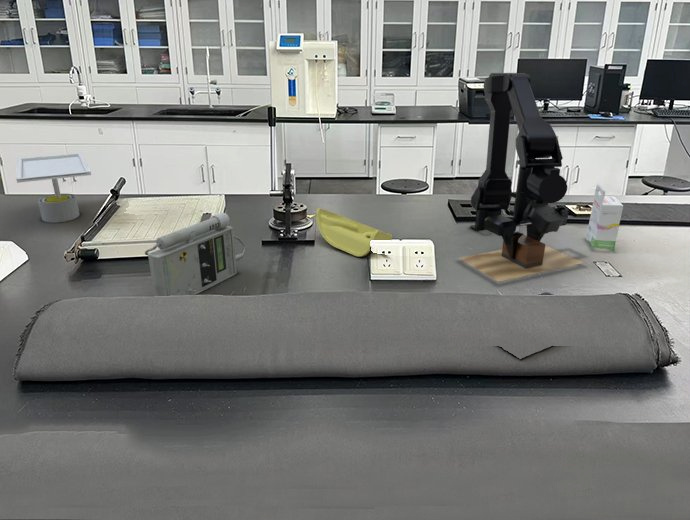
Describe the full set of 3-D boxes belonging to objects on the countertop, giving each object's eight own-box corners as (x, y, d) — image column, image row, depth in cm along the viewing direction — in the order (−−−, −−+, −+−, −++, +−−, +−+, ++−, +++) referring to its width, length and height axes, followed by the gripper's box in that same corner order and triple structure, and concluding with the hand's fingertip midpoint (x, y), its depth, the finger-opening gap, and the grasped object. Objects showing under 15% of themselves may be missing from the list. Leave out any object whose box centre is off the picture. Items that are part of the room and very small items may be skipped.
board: (457, 261, 122) (458, 257, 121) (538, 246, 131) (539, 242, 131) (497, 285, 110) (498, 281, 110) (583, 266, 119) (584, 262, 119)
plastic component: (396, 236, 130) (374, 229, 122) (386, 264, 131) (363, 259, 123) (337, 214, 142) (313, 206, 134) (327, 240, 142) (304, 233, 134)
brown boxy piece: (501, 256, 122) (503, 235, 121) (517, 252, 124) (520, 232, 122) (525, 268, 116) (528, 247, 114) (542, 265, 118) (545, 244, 116)
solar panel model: (100, 225, 145) (90, 171, 139) (28, 235, 137) (15, 179, 132) (91, 200, 167) (82, 152, 162) (29, 207, 160) (17, 158, 154)
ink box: (614, 252, 127) (627, 192, 121) (592, 251, 128) (604, 191, 122) (606, 240, 135) (617, 183, 129) (585, 239, 136) (595, 182, 130)
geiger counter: (159, 242, 94) (252, 207, 114) (135, 235, 97) (230, 202, 117) (168, 311, 100) (256, 266, 119) (146, 303, 103) (235, 260, 122)
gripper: (522, 205, 104) (512, 277, 110) (592, 194, 111) (579, 263, 117) (486, 191, 113) (478, 258, 119) (552, 181, 120) (542, 246, 126)
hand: (520, 256), depth 120 cm, fingers closed on brown boxy piece, 5 cm apart
